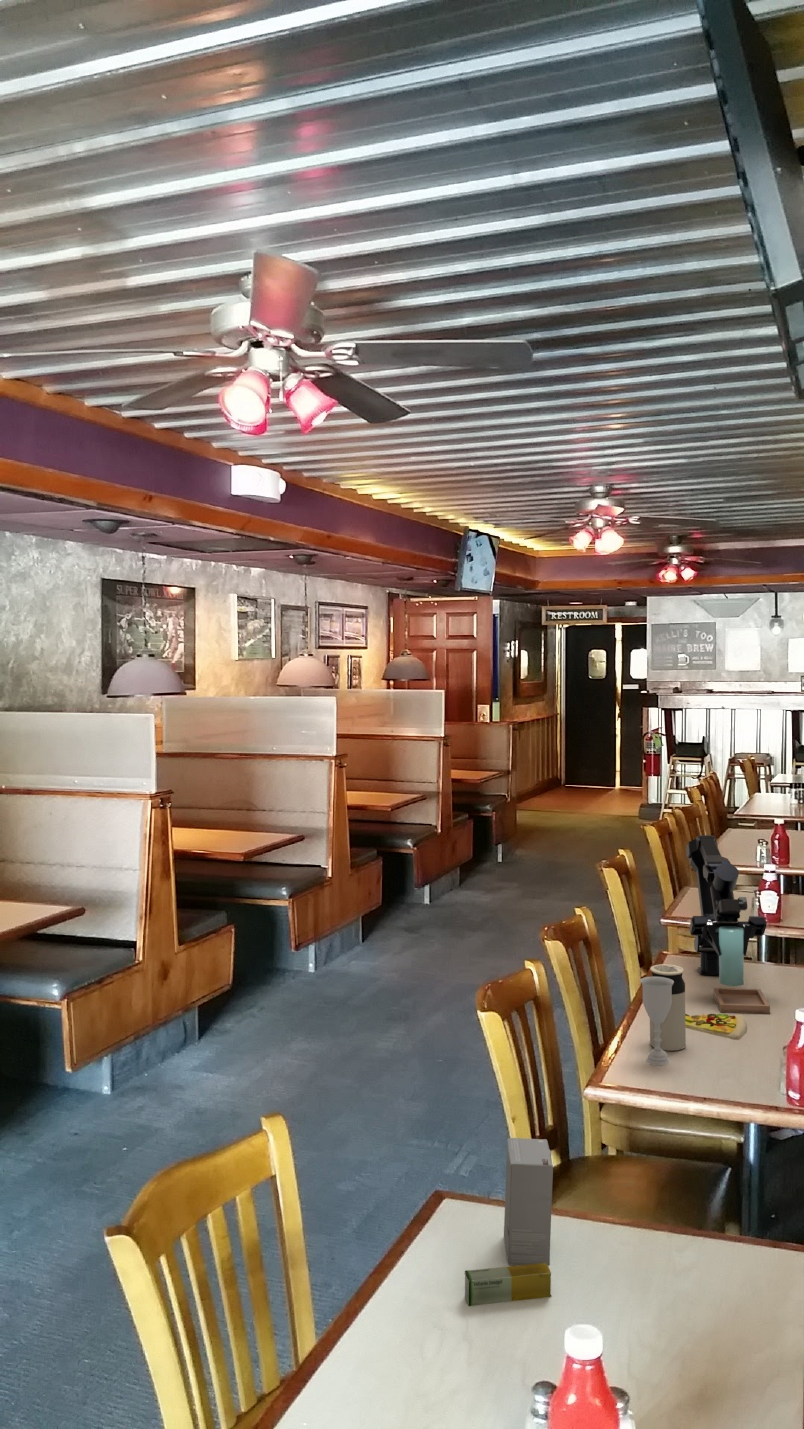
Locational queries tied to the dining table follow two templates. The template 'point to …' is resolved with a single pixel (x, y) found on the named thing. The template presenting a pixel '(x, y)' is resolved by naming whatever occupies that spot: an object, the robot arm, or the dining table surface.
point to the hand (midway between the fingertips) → (732, 954)
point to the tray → (741, 1001)
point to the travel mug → (671, 1010)
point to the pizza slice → (718, 1024)
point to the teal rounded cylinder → (731, 956)
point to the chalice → (657, 1011)
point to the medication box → (507, 1284)
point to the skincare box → (528, 1201)
